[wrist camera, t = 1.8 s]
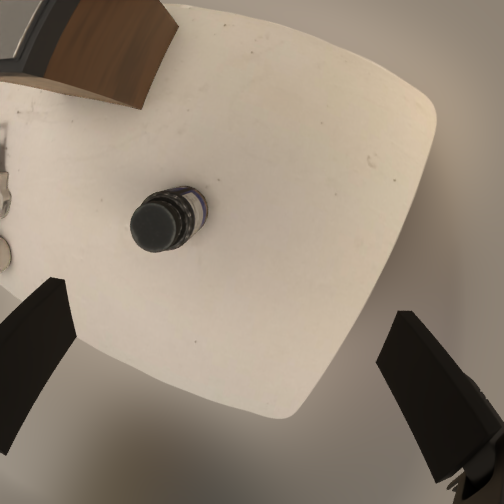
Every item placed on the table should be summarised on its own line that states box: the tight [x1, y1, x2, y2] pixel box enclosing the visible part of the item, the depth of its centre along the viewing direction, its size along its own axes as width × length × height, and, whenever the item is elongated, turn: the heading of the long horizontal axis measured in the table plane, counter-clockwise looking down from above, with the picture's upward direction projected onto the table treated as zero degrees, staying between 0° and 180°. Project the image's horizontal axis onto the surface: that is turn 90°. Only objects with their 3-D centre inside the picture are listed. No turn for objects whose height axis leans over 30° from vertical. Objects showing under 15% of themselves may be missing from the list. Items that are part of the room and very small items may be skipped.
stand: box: [0, 0, 179, 110], centre depth 21 cm, size 15×13×19 cm
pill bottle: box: [130, 186, 208, 253], centre depth 30 cm, size 6×6×11 cm
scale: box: [0, 0, 80, 78], centre depth 10 cm, size 15×13×3 cm
